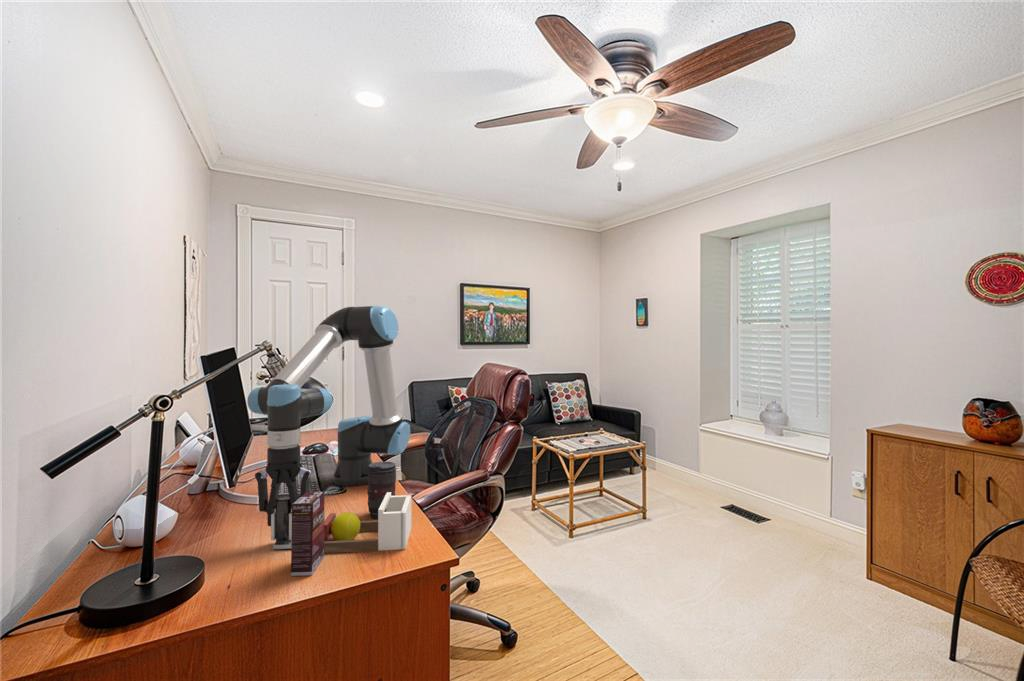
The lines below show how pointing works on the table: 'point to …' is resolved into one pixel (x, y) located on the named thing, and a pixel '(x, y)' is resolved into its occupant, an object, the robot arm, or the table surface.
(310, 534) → the supplement box
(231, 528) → the table surface
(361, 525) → the rails
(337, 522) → the tennis ball
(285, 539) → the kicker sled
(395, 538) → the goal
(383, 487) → the camera lens
